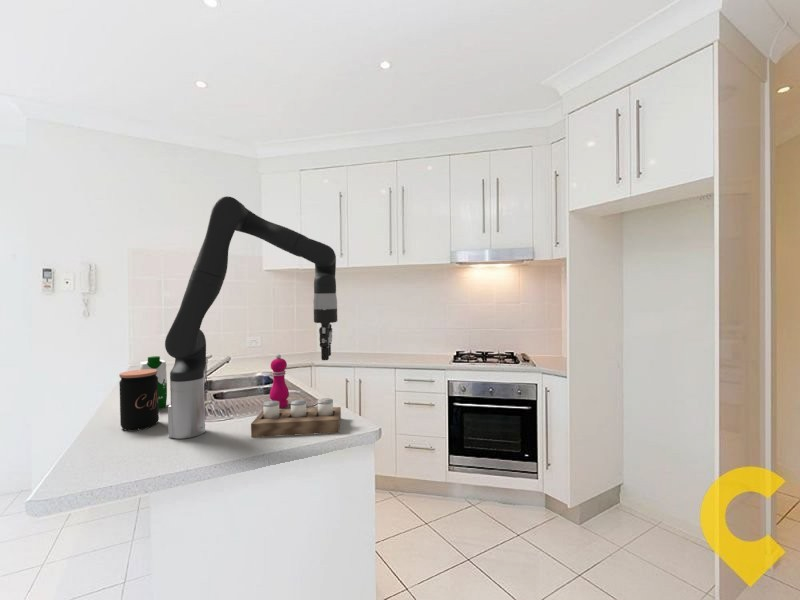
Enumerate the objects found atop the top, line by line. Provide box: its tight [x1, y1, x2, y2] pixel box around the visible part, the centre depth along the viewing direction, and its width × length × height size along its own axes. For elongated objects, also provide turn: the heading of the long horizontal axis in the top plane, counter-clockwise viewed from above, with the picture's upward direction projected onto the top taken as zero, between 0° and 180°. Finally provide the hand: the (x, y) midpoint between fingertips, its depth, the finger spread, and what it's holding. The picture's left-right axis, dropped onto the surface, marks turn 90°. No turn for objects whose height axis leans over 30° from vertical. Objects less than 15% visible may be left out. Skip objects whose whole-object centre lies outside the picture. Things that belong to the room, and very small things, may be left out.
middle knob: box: [290, 399, 307, 418], centre depth 127 cm, size 5×5×5 cm
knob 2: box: [316, 398, 334, 417], centre depth 128 cm, size 5×5×5 cm
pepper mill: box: [269, 353, 290, 409], centre depth 153 cm, size 7×7×20 cm
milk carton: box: [139, 355, 168, 410], centre depth 154 cm, size 9×9×20 cm
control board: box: [250, 406, 342, 438], centre depth 127 cm, size 26×14×4 cm, turn 96°
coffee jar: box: [118, 369, 160, 431], centre depth 131 cm, size 11×11×18 cm
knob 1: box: [262, 400, 280, 419], centre depth 126 cm, size 5×5×5 cm
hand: (326, 357), depth 127 cm, fingers open, 8 cm apart
